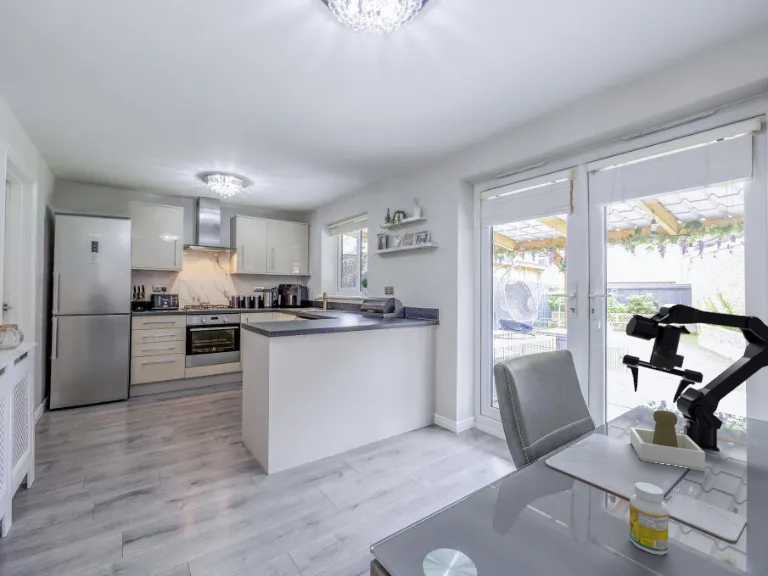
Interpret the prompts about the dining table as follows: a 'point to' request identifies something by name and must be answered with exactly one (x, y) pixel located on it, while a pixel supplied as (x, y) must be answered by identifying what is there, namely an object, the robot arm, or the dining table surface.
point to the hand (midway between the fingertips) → (654, 397)
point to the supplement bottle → (649, 518)
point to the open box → (667, 450)
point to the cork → (665, 428)
